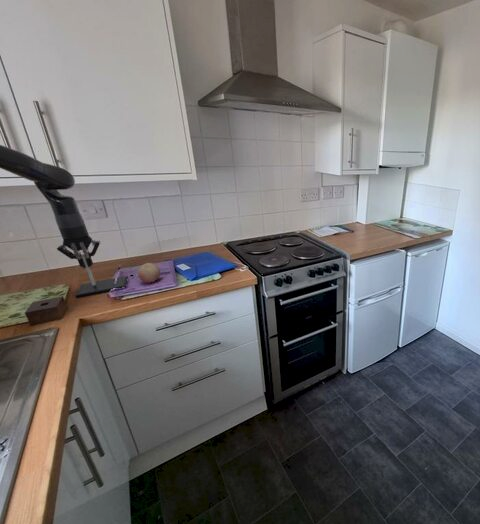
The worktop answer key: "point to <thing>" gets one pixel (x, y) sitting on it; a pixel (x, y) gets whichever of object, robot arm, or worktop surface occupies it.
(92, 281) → the stylus
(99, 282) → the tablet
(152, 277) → the fruit
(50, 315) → the pen holder
